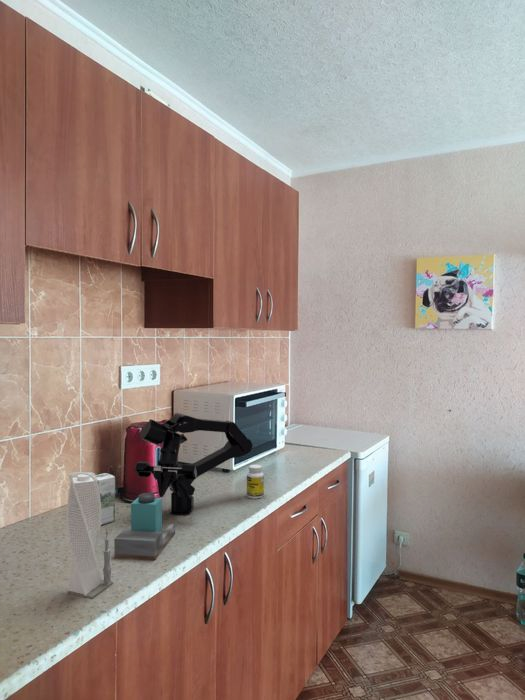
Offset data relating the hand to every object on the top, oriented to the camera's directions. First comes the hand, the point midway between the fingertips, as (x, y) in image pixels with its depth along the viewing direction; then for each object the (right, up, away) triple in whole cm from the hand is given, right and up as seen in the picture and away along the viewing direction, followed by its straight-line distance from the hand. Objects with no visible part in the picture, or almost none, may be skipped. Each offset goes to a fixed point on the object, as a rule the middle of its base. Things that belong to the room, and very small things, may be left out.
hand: (160, 496), depth 148 cm
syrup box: (-19, -10, +5) cm, 22 cm away
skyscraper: (-10, -11, -35) cm, 38 cm away
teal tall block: (-2, -9, -12) cm, 15 cm away
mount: (-2, -10, -12) cm, 15 cm away
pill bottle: (+28, -9, +29) cm, 41 cm away
